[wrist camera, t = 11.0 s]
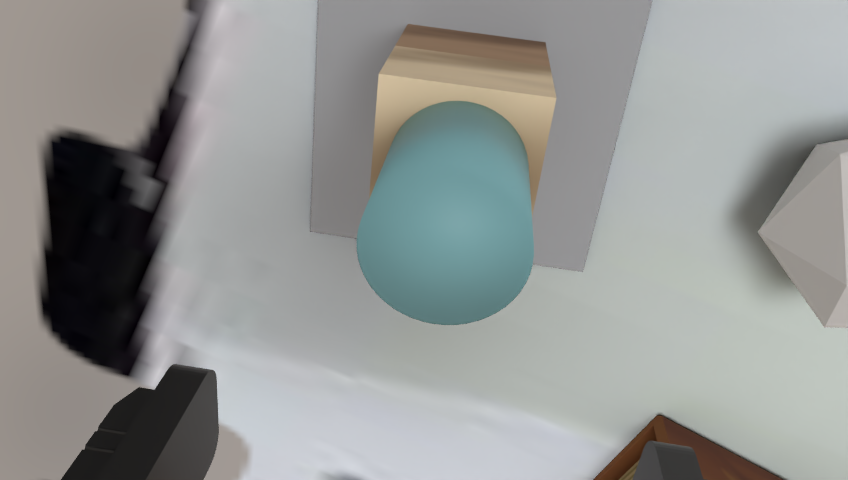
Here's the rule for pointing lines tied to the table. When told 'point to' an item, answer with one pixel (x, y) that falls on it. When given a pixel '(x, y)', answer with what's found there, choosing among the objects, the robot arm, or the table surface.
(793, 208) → the die
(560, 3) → the slate mat
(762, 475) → the diary
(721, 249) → the table surface
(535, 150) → the oak block
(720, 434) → the table surface
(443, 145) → the teal cylinder
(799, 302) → the table surface
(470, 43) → the walnut block
